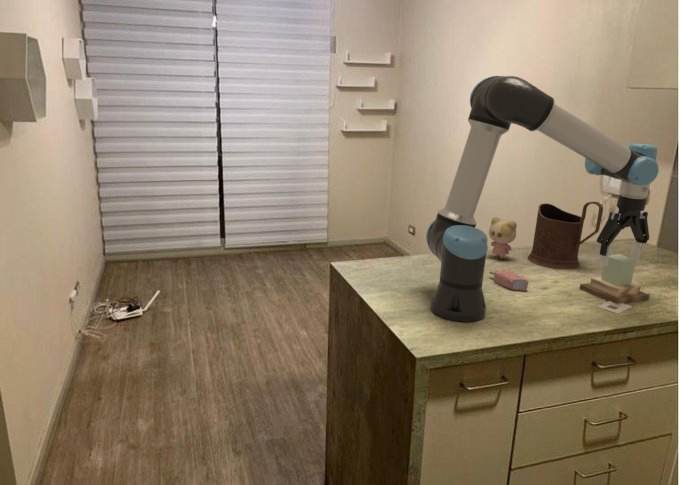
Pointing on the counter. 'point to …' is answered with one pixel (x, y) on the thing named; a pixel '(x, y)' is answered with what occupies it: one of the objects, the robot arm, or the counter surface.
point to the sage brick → (619, 270)
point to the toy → (502, 236)
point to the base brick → (614, 291)
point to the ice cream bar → (510, 280)
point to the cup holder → (559, 237)
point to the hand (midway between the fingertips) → (618, 263)
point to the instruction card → (614, 307)
